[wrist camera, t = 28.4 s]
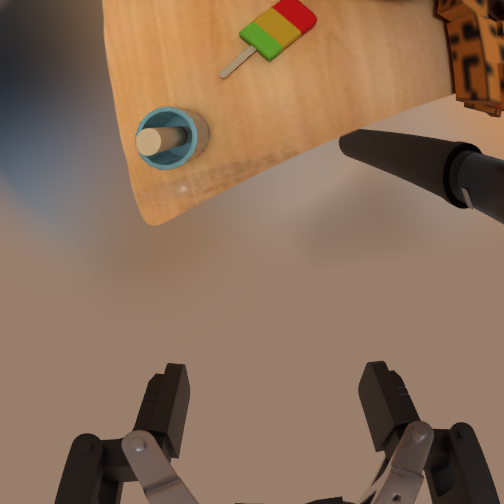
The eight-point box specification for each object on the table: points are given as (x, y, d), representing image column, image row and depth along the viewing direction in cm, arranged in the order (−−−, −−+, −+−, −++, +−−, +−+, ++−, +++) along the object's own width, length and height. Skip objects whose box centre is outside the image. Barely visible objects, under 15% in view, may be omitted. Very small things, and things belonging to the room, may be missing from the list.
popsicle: (318, 23, 29) (321, 18, 27) (237, 91, 33) (236, 89, 32) (288, -3, 27) (290, -8, 26) (206, 65, 32) (204, 62, 30)
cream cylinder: (185, 121, 35) (149, 121, 22) (197, 136, 35) (167, 142, 23) (171, 134, 35) (129, 141, 22) (183, 148, 36) (146, 162, 23)
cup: (209, 109, 34) (196, 104, 26) (209, 158, 37) (197, 168, 29) (160, 112, 34) (134, 110, 26) (161, 160, 37) (137, 171, 29)
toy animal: (488, 127, 33) (417, 79, 32) (501, 38, 25) (435, -13, 24) (530, 135, 23) (458, 71, 22) (539, 32, 15) (468, -33, 14)
